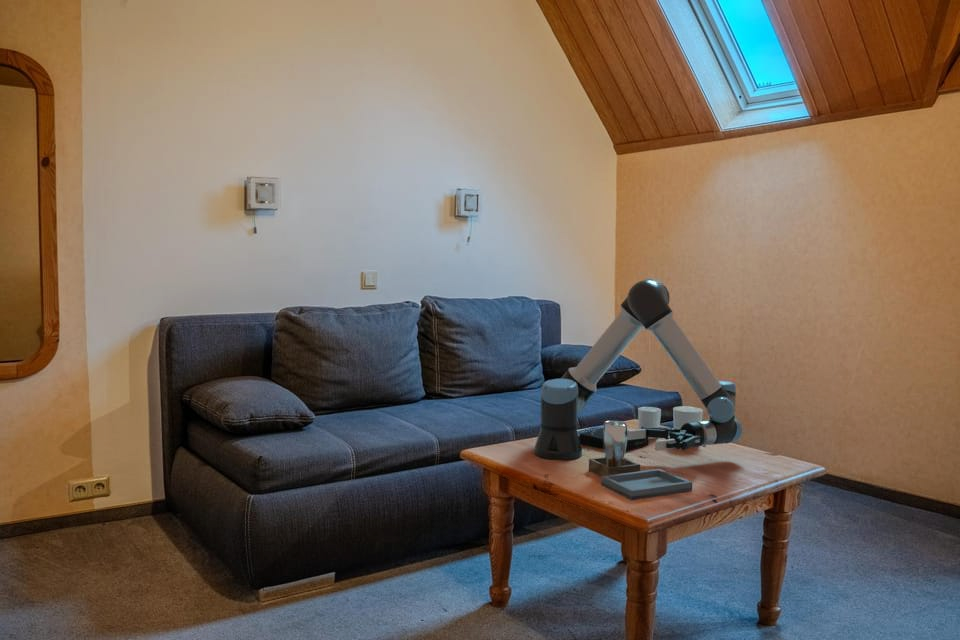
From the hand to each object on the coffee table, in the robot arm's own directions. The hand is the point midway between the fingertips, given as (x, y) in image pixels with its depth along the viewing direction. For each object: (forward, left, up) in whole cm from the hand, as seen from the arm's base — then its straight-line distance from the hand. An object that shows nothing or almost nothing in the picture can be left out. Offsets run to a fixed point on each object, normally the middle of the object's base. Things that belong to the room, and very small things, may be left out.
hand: (641, 440), depth 221 cm
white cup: (-33, +29, -9) cm, 45 cm away
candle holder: (-20, +35, -9) cm, 41 cm away
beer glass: (0, -9, -9) cm, 13 cm away
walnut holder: (0, -9, -9) cm, 13 cm away
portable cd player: (-29, +11, -10) cm, 32 cm away
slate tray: (+15, -9, -9) cm, 20 cm away
